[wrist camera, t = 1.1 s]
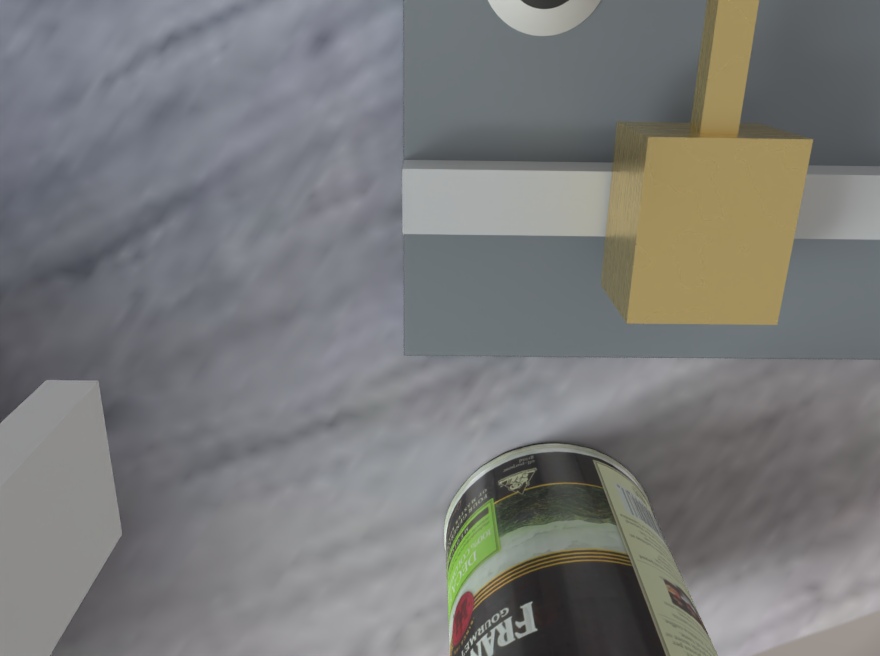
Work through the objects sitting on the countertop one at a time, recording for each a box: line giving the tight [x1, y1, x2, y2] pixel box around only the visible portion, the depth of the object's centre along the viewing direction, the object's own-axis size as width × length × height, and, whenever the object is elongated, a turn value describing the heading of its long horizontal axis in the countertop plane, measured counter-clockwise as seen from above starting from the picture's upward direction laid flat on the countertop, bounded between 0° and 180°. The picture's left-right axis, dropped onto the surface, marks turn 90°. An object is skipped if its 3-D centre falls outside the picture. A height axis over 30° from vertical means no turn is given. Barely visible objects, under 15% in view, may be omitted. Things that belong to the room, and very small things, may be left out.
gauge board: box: [402, 0, 880, 360], centre depth 26 cm, size 26×18×9 cm
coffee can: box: [444, 443, 718, 656], centre depth 31 cm, size 10×10×14 cm
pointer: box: [601, 0, 813, 325], centre depth 25 cm, size 5×12×6 cm, turn 179°
